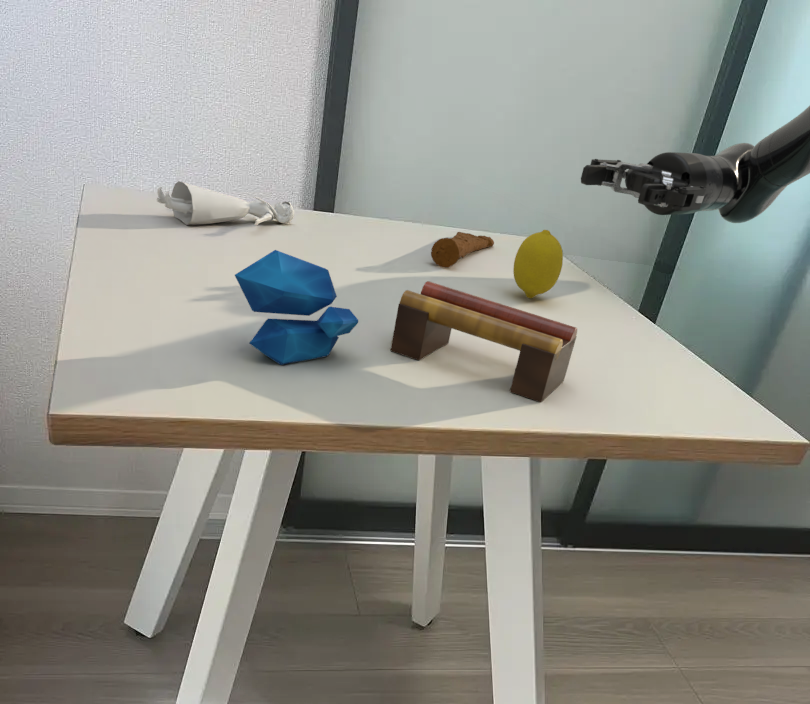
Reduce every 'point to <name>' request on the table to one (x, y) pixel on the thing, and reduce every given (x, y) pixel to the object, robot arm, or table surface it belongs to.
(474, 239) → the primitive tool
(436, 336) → the rod rack
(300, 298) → the blue crystals
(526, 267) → the lemon
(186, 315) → the table surface
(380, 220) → the table surface
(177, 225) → the table surface
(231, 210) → the woman figurine
